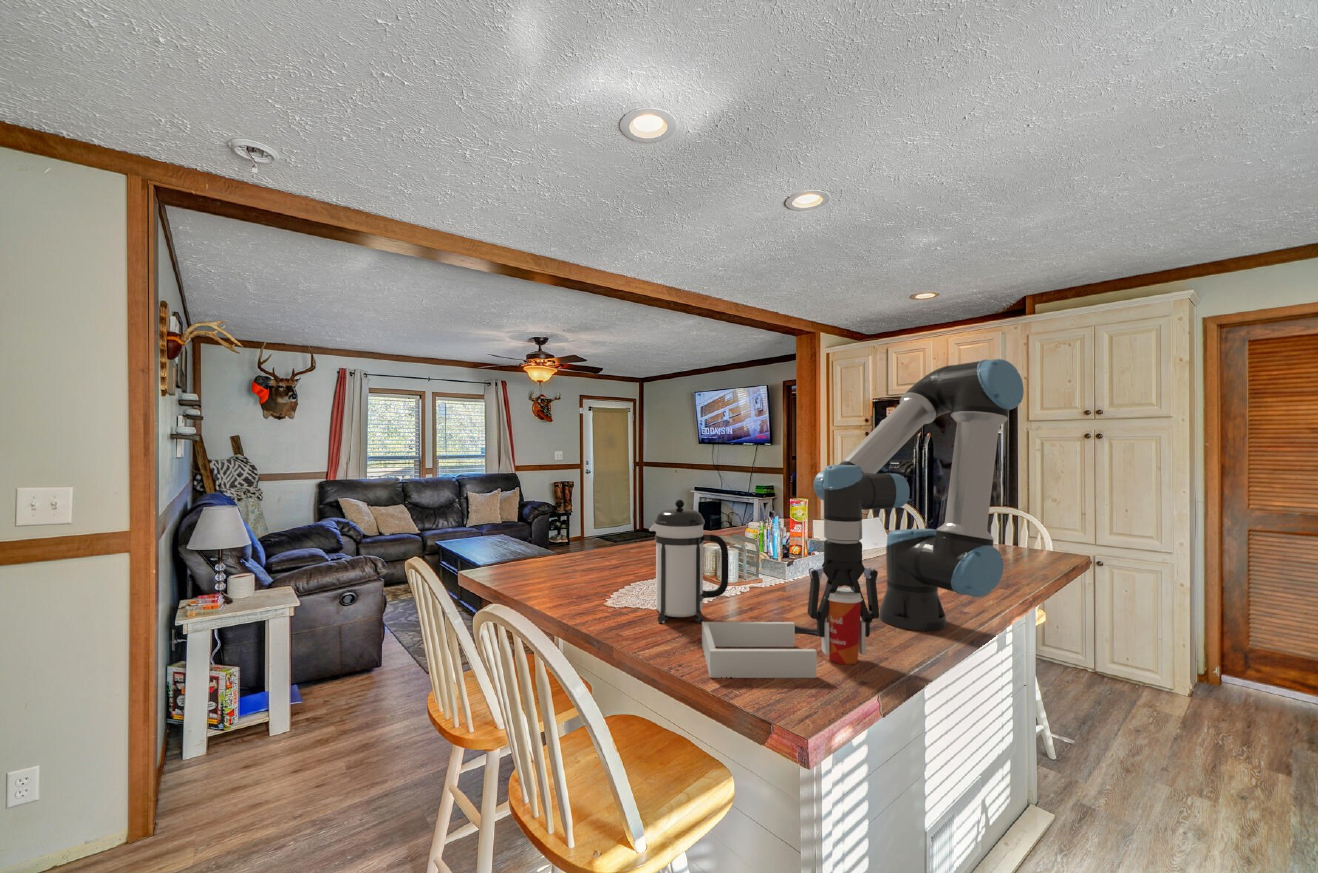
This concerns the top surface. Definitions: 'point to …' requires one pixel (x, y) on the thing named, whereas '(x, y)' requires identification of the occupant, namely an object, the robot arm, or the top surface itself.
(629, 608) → the top surface
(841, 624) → the paper cup
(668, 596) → the coffee press
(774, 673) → the box
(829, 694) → the top surface
